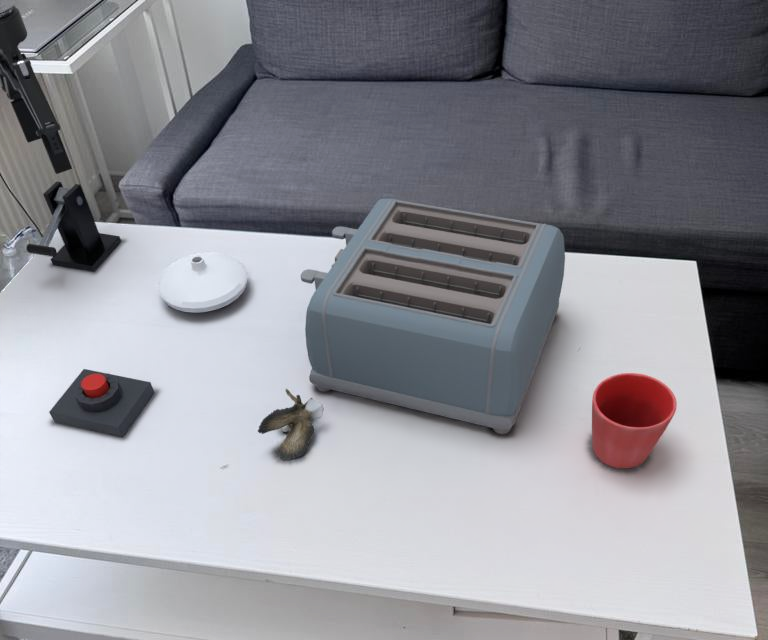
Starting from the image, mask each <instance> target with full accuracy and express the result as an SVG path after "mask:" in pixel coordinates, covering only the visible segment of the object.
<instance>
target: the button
mask: <svg viewBox="0 0 768 640" xmlns="http://www.w3.org/2000/svg"><path fill="white" fill-rule="evenodd" d="M81 386H82V388H83V390H84V392H85V394H86V396H87V397H89V398H97V397H101V396H102V395H104V394H106V393H107V392H108V390H109V385H108V383H107V381H106V379H105V377H104V376H103V375H101V374H91V375H88V376H87V377H85V378H84V379H83V380H82V382H81Z"/></svg>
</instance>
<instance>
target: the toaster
mask: <svg viewBox="0 0 768 640" xmlns="http://www.w3.org/2000/svg"><path fill="white" fill-rule="evenodd" d="M331 235H332V237H333V238H334V239H338V240H344V239H345V247H344V248H340V249H339V250H338V252H337V254H336V255H335V256H334V263H332V265H331V266H330V267H331V268H330V269H329V271H327V272H324V271H320V270H317V269H316V270H315V269H311V268H309V269H308V268H307V269H304V270H303V271H302V272H301V273H300V280H301V282H302V283H307V284H311V285H312V284H313V283H314V287H315V291H314V292H313V294H312V296H311V298H310V300H309V303H308V305H307V308H306V313H305V314H306V315H305V325H304V326H305V327H304V330H305V331H304V332H305V343H306V344H305V345H306V352H307V357H308V361H309V363H310V366H311V370H310V373H309V376H308V379H309V382H310V383H311V384H312V385H315V388H316V389H317V391H319V392H329V391H336V392H340V393H344V394H347V395H348V394H349V395H353V396H357V397H361V398H365V399H369V400H374V401H378V402H383V403H386V404H391V405H395V406H400V407H403V408H408V409H411V410H415V411H419V412H424V413H428V414H431V415H432V414H433V415H436V416H441V417H445V418H449V419H454V420H458V421H462V422H467V423H470V424H475V425H479V426H482V427H487V428H492V429H493V431H494V432H495V433H496V434H498V435H506V434H508V433H510V431H511V430H512V427H513V426H514V424H515V423H516V421H517V418H518V416H519V413H520V410H521V408H522V406H523V402H524V399H525V397H526V394H527V392H528V390H529V387H530V385H531V381H532V379H533V376H534V374H535V371H536V368H537V365H538V364H539V360H540V357H541V355H542V352H543V350H544V347H545V344H546V342H547V339H548V336H549V334H550V331H551V329H552V325H553V323H554V321H555V318H556V315H557V312H558V310H559V306H560V297H561V292H562V288H563V282H564V276H565V263H566V250H565V237H564V234H563V232H562V231H561V229H560V228H558V227H556V226H554V225H551V224H547V223H539V222H533V221H526V220H520V219H513V218H509V217H502V216H497V215H491V214H490V215H489V214H484V213H478V212H471V211H467V210H459V209H455V208H447V207H441V206H435V205H430V204H429V205H428V204H423V203H418V202H417V203H416V202H412V201H411V202H410V201H406V200H400V199H399V200H398V199H396V198H387V197H386V198H380V199H378V201H377V202H376V203H375V204H374V205H373V207H372V208H371V210H370V212H369V213H368V214H367V216H366V217H365V219H364V220H363V222H362V223H361V224H360V226H359V227H358V228H352V227H346V226H342V225H341V226H339V225H338V226H336V227H334V228H333V229H332V231H331Z"/></svg>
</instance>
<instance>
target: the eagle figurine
mask: <svg viewBox="0 0 768 640" xmlns="http://www.w3.org/2000/svg"><path fill="white" fill-rule="evenodd" d="M285 393H286V395H287V396H288V397H289V398H290V399H291V400H292V401H293V402H294V404H293V405H292V406H290V407H285V408H281V409H279V408H277V409H275V410H274V409H273V411H272V412H270V413H269V414H268V415H267V416H265V417H264V418H263V419H262V421H261V422H260V424H259V426H258V429H257V433H259V434H262V435H263V434H267V433H269V432H272V431H278V430H280V429H282V430H281V431H282V433H287V432H288V434H287V436H285V438H284V440H283V442H281V444H280V445H279V446H278V447H277V448H276V449H275V453H276V456H277V457H278V459H279V460H282V461H286V460H287V461H290V460H292V459H293V460H295V459H297V458H300V457H301V456H302V455H303V454H305V451H307V447H308V446H310V445H309V444H310V441H311V440H312V438H314V435H315V430H316V428H315V426H314V425H313V422H312V420H311V419H313V420H315V419H316V420H317V419H321V418H322V417H323V414H324V408H325V407H324V404H323V403H322V401H320V400H318V399H317V398H316V399H315V398H313V397H310V398H309V399H308V400H307V401H306V402H304V403H303V402H302V399H301V395H300V394H296V396H294V395H293V394H292V392H291V391H290V389H288V388H285Z"/></svg>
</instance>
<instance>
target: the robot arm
mask: <svg viewBox="0 0 768 640" xmlns="http://www.w3.org/2000/svg"><path fill="white" fill-rule="evenodd" d="M15 4H16V0H0V86H1V90H2V91H3V92H4V93H5V94H6V98H7V99H9V101H10V104H11V107H12V109H13V112H14V114H15V116H16V119H17V122H18V123H19V126H20V128H21V130H22V133H23V135H24V138H25V140H26V142H27V143H29V144H30V143H32V142H35V141H38V140H41V142H42V144H43V146H44V150H45V151H46V154H47V156H48V159H49V161H50V164H51V166H52V168H53V172H54V173H55V174H56V175H58V174H61V173H64V172H67V171H70V170H72V169H73V167H72V164H71V161H70V159H69V156H68V154H67V152H66V149H65V146H64V143H63V141H62V138H61V135H60V133H59V131H61V125H60V123H58V120H57V118H56V116H55V113H54V111H53V110H52V107H51V105H50V103H49V102H48V99H47V97H46V95H45V93H44V91H43V89H42V87H41V84H40V82H39V81H38V78H37V76H36V74H35V72H34V68H33V66H32V62H31V60H30V59H29V58H28V57H27V56H26V54H25V53H21V50H20V49H19V45H20V44H21V43H23V42H24V41H25V40H26V39H27V37H28V30H27V28H26V25H25V22H24V20H23V17H22V15H21V12H20V9H18V8H17V7H16V6H15Z"/></svg>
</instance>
